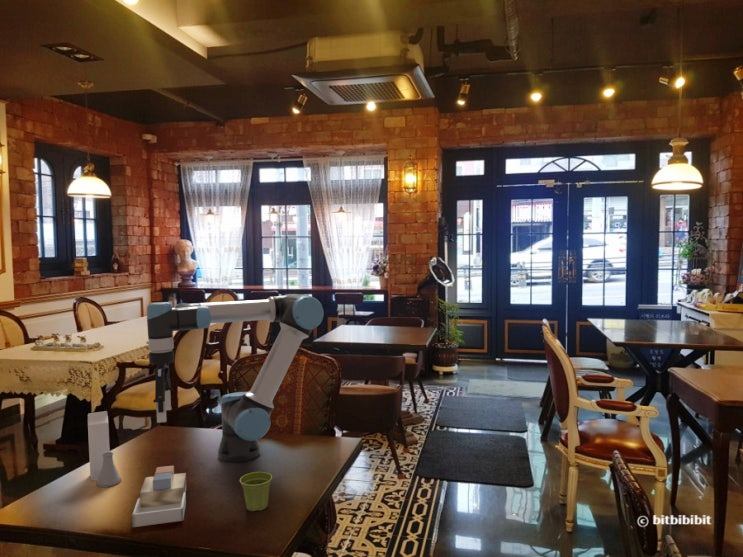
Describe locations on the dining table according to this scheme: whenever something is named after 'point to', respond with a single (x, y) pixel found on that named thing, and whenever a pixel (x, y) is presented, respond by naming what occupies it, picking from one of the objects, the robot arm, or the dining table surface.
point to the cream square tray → (163, 492)
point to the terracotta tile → (165, 470)
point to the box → (158, 513)
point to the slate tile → (162, 481)
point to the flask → (108, 472)
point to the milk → (97, 441)
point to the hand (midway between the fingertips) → (164, 415)
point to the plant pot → (256, 490)
